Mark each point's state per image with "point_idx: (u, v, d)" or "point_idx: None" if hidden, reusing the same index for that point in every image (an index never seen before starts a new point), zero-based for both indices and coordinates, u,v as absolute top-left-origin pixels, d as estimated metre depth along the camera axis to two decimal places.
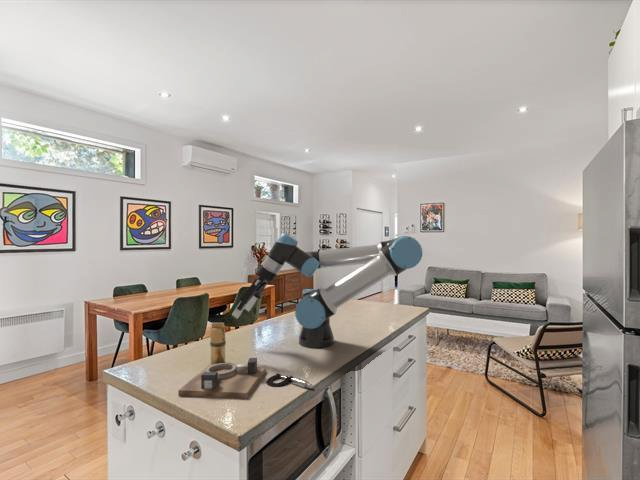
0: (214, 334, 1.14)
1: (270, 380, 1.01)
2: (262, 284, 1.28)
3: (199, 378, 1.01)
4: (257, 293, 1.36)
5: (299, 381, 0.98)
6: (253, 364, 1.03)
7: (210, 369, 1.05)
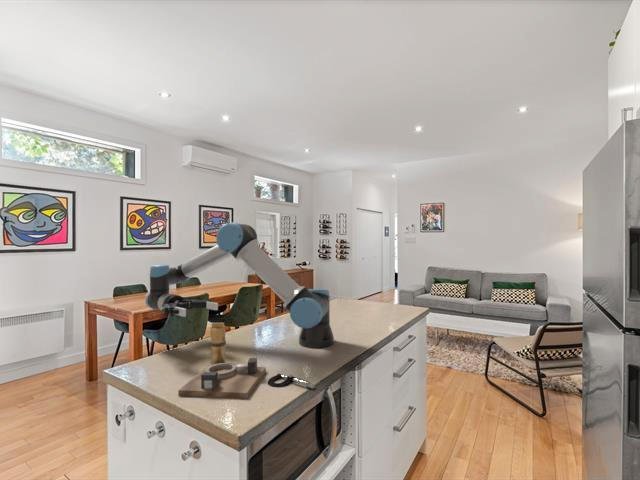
0: (214, 334, 1.14)
1: (271, 380, 1.01)
2: (175, 302, 1.30)
3: (199, 378, 1.01)
4: (201, 304, 1.32)
5: (300, 381, 0.98)
6: (253, 364, 1.03)
7: (210, 369, 1.05)
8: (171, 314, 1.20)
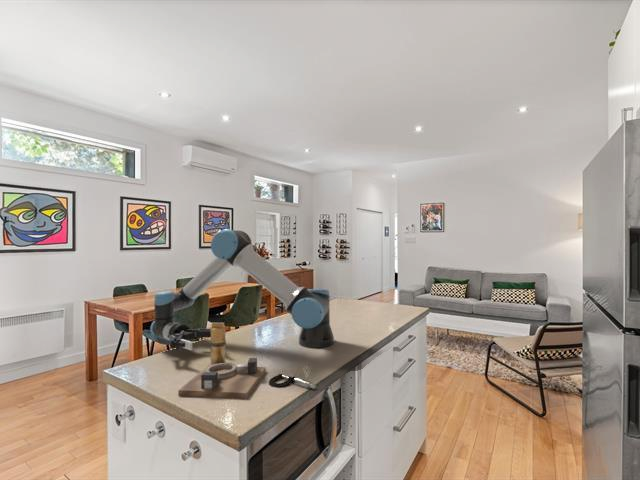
0: (214, 334, 1.14)
1: (272, 380, 1.01)
2: None
3: (199, 378, 1.01)
4: (207, 333, 1.29)
5: (302, 381, 0.98)
6: (253, 364, 1.03)
7: (210, 369, 1.05)
8: (177, 347, 1.17)
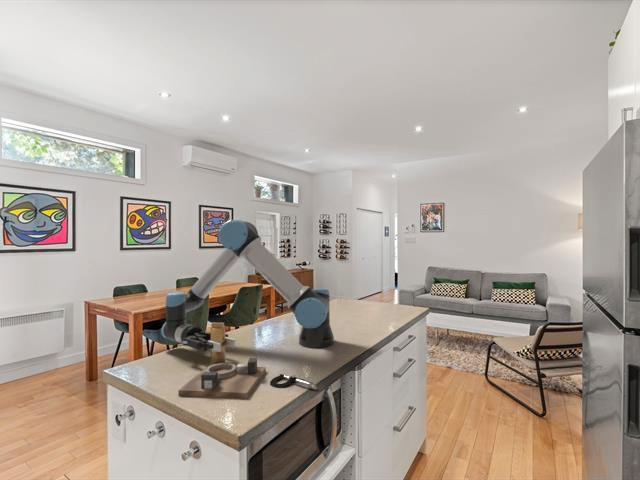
0: (214, 334, 1.14)
1: (274, 381, 1.01)
2: (194, 335, 1.22)
3: (199, 378, 1.01)
4: None
5: (303, 382, 0.97)
6: (253, 364, 1.03)
7: (210, 369, 1.05)
8: (205, 348, 1.14)
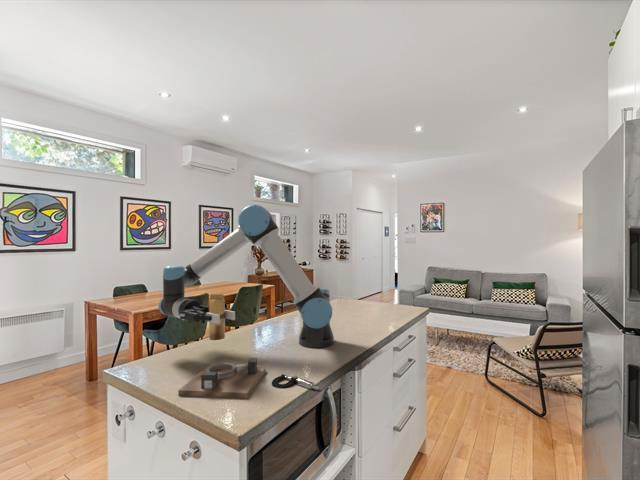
0: (212, 305, 1.07)
1: (275, 381, 1.00)
2: (192, 308, 1.15)
3: (199, 378, 1.01)
4: None
5: (305, 382, 0.97)
6: (253, 364, 1.03)
7: (210, 369, 1.05)
8: (203, 321, 1.07)
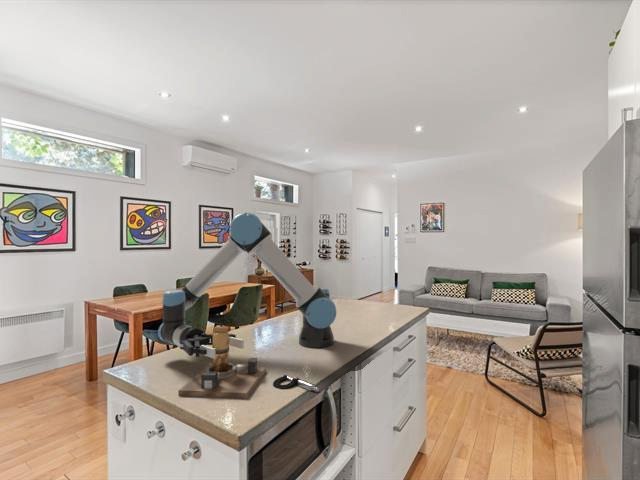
0: (216, 339, 1.02)
1: (277, 382, 1.00)
2: (194, 337, 1.10)
3: (199, 378, 1.01)
4: None
5: (305, 383, 0.96)
6: (253, 364, 1.03)
7: (210, 369, 1.05)
8: (197, 354, 1.01)
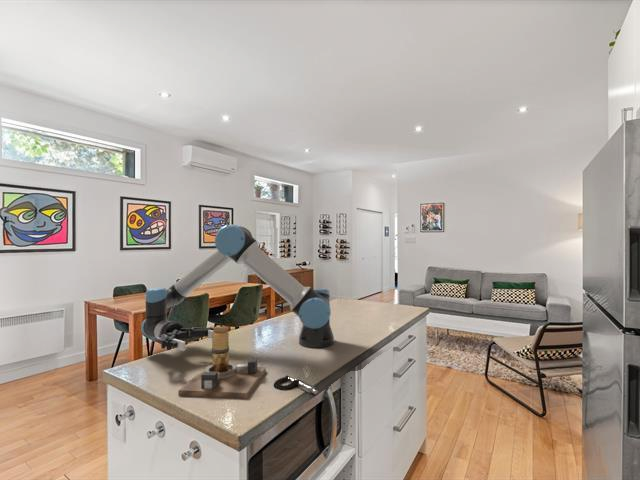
0: (216, 339, 1.02)
1: (278, 382, 1.00)
2: None
3: (199, 378, 1.01)
4: (202, 332, 1.20)
5: (305, 385, 0.95)
6: (253, 364, 1.03)
7: (210, 369, 1.05)
8: (169, 347, 1.08)
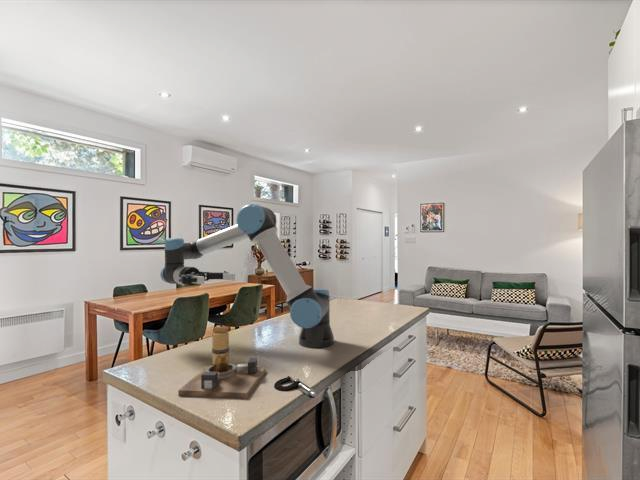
0: (216, 339, 1.02)
1: (279, 382, 0.99)
2: None
3: (199, 378, 1.01)
4: (218, 275, 1.31)
5: (304, 387, 0.93)
6: (253, 364, 1.03)
7: (210, 369, 1.05)
8: (189, 283, 1.19)
